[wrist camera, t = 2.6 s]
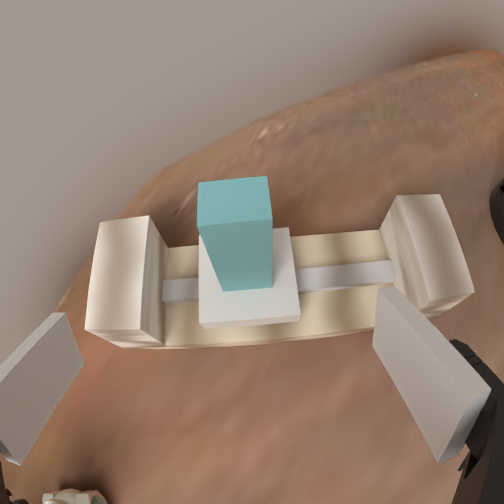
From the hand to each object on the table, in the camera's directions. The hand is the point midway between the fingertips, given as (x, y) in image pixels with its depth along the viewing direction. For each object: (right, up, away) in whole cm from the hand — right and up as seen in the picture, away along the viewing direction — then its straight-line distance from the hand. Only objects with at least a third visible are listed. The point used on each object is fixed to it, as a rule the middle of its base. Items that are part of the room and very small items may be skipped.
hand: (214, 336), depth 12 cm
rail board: (+4, -1, +19) cm, 20 cm away
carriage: (+1, 0, +17) cm, 17 cm away
